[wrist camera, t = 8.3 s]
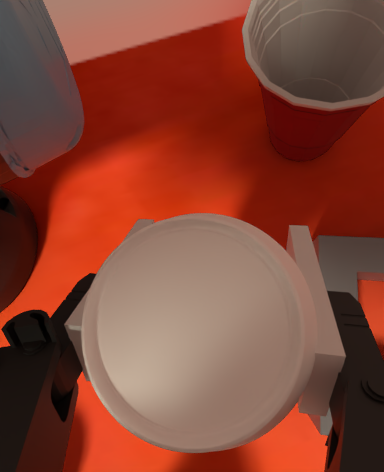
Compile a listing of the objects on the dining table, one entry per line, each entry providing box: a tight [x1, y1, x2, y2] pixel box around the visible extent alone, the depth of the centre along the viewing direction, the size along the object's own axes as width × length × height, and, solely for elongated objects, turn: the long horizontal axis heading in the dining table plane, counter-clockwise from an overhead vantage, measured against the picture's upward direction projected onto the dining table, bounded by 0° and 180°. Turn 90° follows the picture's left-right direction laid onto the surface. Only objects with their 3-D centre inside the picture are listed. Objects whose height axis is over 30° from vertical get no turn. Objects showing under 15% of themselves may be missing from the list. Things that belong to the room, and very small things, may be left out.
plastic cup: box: [242, 0, 384, 161], centre depth 23 cm, size 11×11×12 cm
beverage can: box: [81, 213, 318, 453], centre depth 12 cm, size 6×6×12 cm
